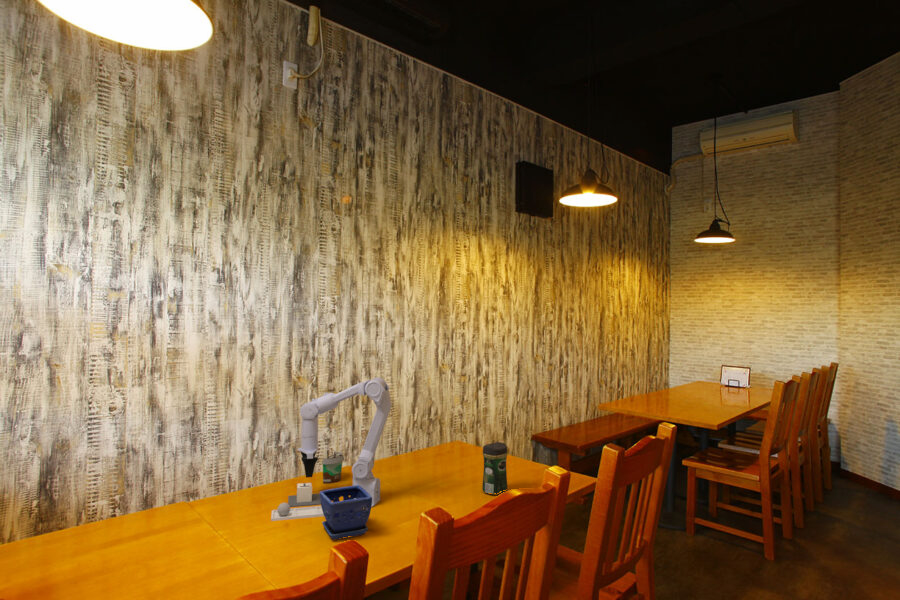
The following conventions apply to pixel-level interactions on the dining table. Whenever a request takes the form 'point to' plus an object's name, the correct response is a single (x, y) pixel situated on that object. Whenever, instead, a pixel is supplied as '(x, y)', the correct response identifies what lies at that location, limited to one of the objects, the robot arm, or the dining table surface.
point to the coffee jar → (495, 468)
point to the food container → (332, 468)
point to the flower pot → (345, 511)
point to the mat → (293, 502)
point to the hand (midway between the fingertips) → (308, 474)
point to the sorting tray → (298, 513)
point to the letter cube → (304, 492)
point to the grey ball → (283, 509)
